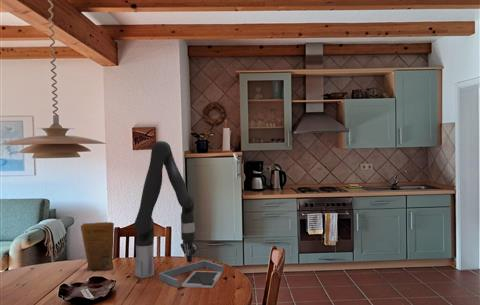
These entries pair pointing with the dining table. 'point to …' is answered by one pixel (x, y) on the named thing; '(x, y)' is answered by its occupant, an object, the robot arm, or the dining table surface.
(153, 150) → the robot arm
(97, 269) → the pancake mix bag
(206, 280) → the picture frame
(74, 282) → the dining table surface
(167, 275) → the open-front box
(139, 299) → the dining table surface
